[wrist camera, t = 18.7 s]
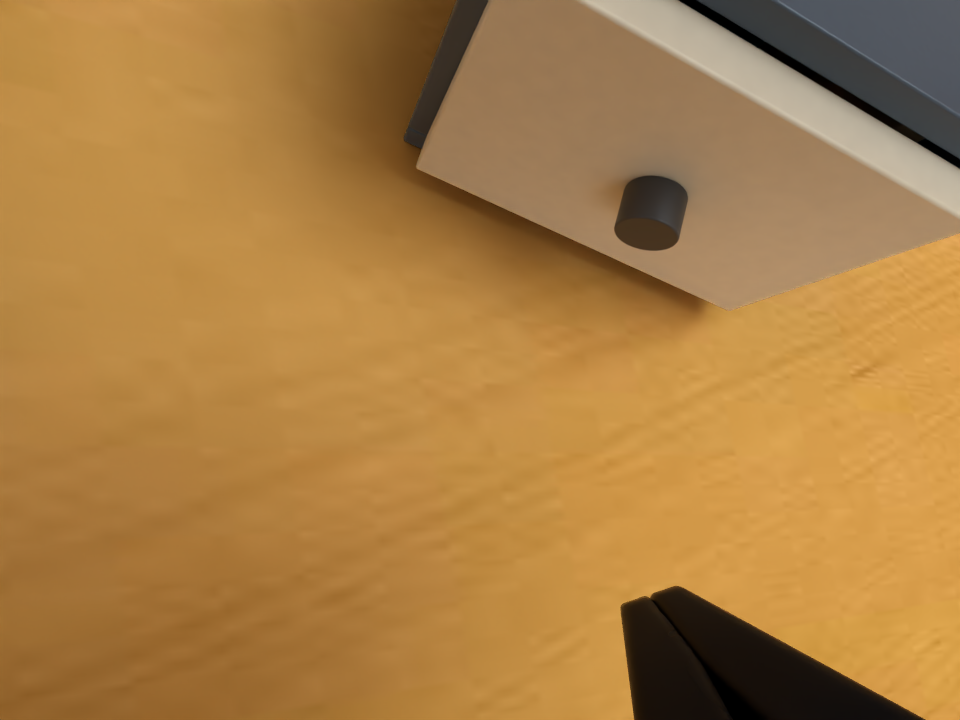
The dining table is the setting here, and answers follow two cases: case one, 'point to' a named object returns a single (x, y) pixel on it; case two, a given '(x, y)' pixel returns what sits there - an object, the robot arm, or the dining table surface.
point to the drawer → (682, 148)
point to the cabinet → (806, 56)
